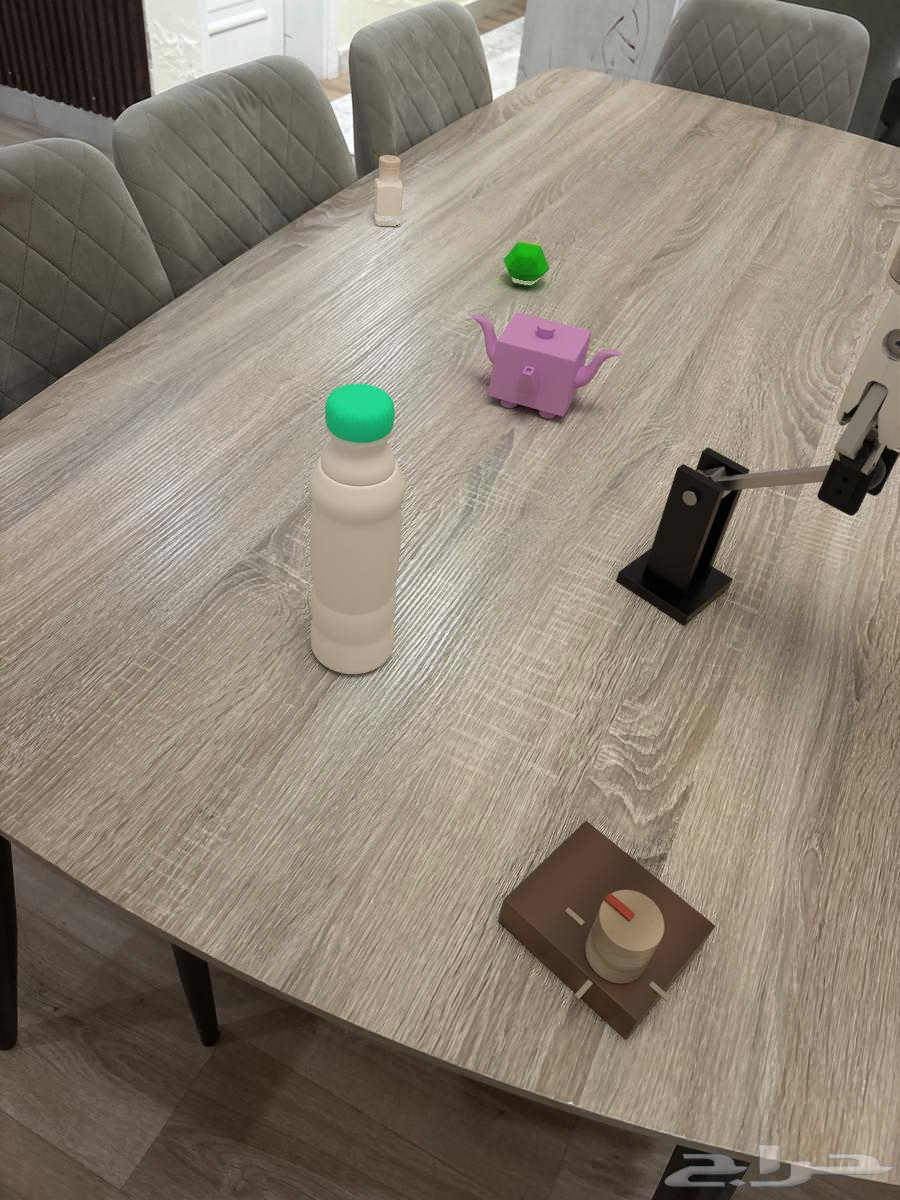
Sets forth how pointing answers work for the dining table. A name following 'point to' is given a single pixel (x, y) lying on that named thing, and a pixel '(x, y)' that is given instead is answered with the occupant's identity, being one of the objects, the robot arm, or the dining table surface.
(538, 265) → the green faceted polyhedron
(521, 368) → the teapot
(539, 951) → the tap panel
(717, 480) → the faucet lever
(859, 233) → the dining table surface
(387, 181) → the salt shaker
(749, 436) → the dining table surface
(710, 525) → the black lever stand
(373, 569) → the water bottle
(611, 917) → the tap knob
